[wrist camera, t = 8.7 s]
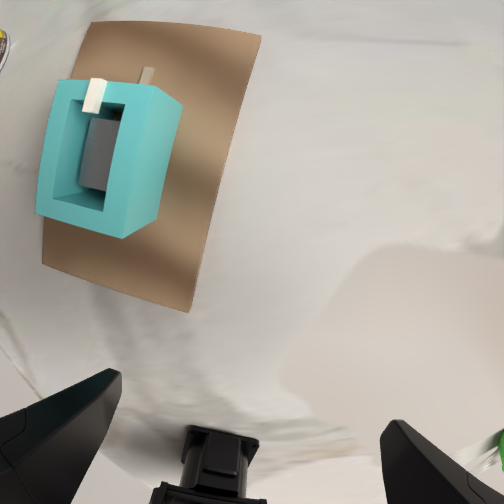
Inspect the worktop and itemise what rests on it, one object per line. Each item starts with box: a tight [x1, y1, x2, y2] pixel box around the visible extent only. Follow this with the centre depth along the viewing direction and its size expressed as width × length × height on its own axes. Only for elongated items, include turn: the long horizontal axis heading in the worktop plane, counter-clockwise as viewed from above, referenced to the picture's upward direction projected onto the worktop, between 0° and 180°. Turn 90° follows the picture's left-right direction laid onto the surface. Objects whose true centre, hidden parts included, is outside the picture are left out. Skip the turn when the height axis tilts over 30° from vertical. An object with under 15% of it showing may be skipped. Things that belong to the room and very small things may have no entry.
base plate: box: [42, 21, 261, 313], centre depth 17 cm, size 18×12×1 cm, turn 165°
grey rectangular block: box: [78, 118, 121, 191], centre depth 15 cm, size 4×2×4 cm, turn 165°
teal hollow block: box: [35, 78, 183, 239], centre depth 14 cm, size 7×6×6 cm
